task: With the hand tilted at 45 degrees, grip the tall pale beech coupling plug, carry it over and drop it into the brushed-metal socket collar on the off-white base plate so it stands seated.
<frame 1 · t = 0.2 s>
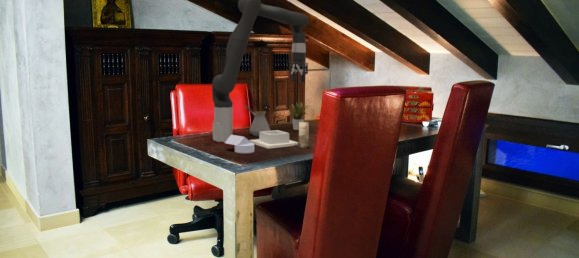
hand: (298, 81, 272), 29 cm above the table, tool pointing down, fingers open, 8 cm apart
wedge on round base: (241, 151, 229), on the table
house plant: (298, 129, 292), on the table
socket plate: (274, 143, 246), on the table
coffee pot: (254, 134, 274), on the table
coupling plug: (303, 147, 239), on the table
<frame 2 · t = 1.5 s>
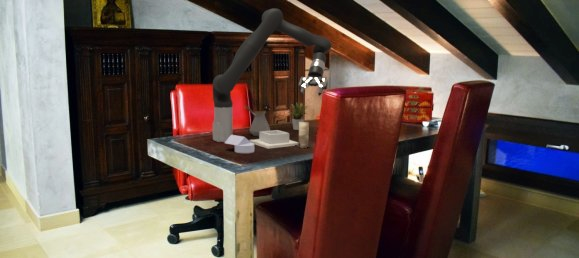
hand: (310, 94, 246), 25 cm above the table, tool tilted 45°, fingers open, 8 cm apart
nothing on the table moved.
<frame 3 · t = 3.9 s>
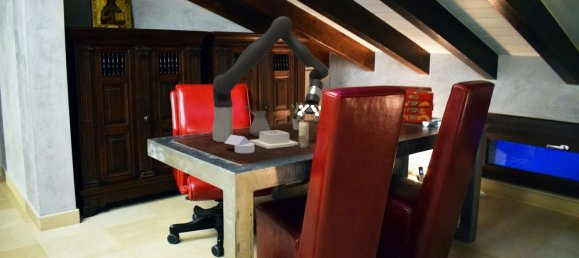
hand: (306, 122, 243), 11 cm above the table, tool tilted 45°, fingers open, 8 cm apart
nothing on the table moved.
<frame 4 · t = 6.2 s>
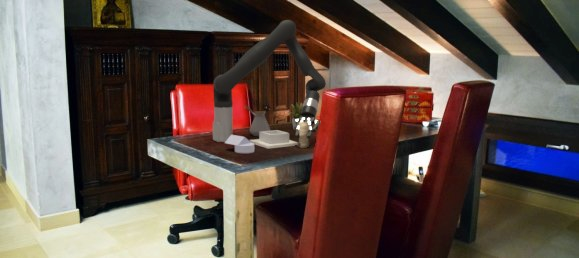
hand: (302, 137, 237), 5 cm above the table, tool tilted 45°, fingers closed on coupling plug, 4 cm apart
coupling plug: (303, 147, 239), on the table, touching gripper
everything else where it was.
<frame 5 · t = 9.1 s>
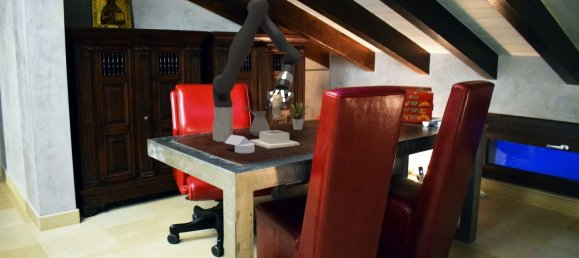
hand: (275, 108, 241), 18 cm above the table, tool tilted 45°, fingers closed on coupling plug, 4 cm apart
coupling plug: (276, 118, 243), point 13 cm above the table, touching gripper
everything else where it was.
when the fingers open (8 cm above the table, at t = 12.2 s): coupling plug drops 1 cm, resting on socket plate.
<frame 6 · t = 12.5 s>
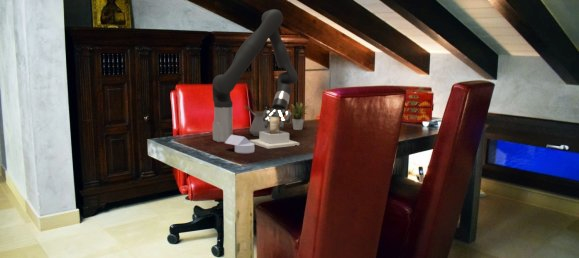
hand: (273, 127, 244), 8 cm above the table, tool tilted 45°, fingers open, 7 cm apart
coupling plug: (274, 141, 246), point 1 cm above the table, touching socket plate
everything else where it was.
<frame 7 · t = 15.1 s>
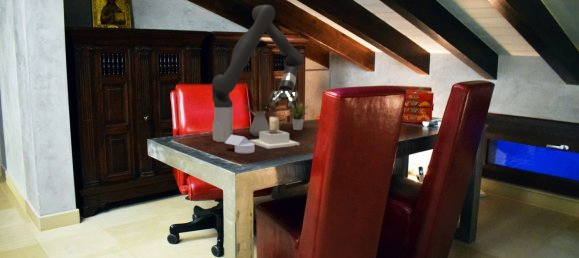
hand: (280, 107, 253), 17 cm above the table, tool tilted 45°, fingers open, 8 cm apart
nothing on the table moved.
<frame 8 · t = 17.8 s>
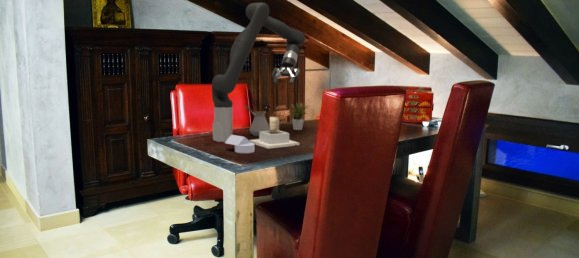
hand: (282, 83, 260), 29 cm above the table, tool tilted 45°, fingers open, 8 cm apart
nothing on the table moved.
at the end: coupling plug 0.1 cm off-centre on the socket plate, point 1.2 cm above the socket plate's base; coupling plug tilted 1°; the gripper is holding nothing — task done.
